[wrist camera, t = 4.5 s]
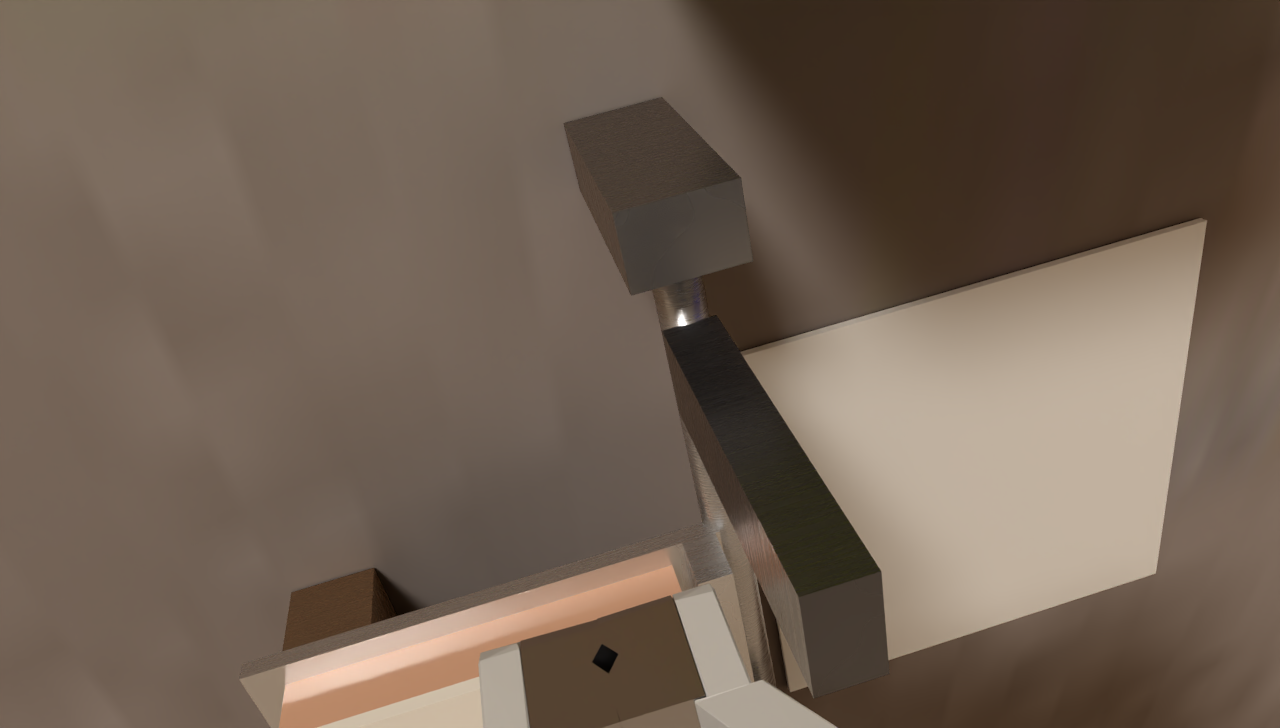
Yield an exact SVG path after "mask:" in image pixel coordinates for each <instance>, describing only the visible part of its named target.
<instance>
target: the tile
mask: <svg viewBox="0 0 1280 728" xmlns="http://www.w3.org/2000/svg"><path fill="white" fill-rule="evenodd" d="M679 592H682V591H681V588H680V585H679V582H678V579H677V577H676V574H675V571H674V568H673V566H672V565H671V566H668V567H665V568H661V569H658V570H655V571H652V572H648V573H645V574H642V575H639V576H636V577H632V578H629V579H626V580H623V581H619V582H616V583H613V584H610V585H606V586H603V587H600V588H597V589H594V590H590V591H587V592H584V593H581V594H577V595H574V596H571V597H568V598H564V599H561V600H558V601H555V602H552V603H548V604H545V605H542V606H539V607H535V608H532V609H529V610H526V611H522V612H519V613H516V614H513V615H510V616H506V617H503V618H500V619H497V620H493V621H490V622H487V623H484V624H481V625H477V626H474V627H471V628H468V629H464V630H461V631H458V632H455V633H451V634H448V635H445V636H442V637H439V638H435V639H432V640H429V641H426V642H422V643H419V644H416V645H413V646H409V647H406V648H403V649H400V650H397V651H393V652H390V653H387V654H384V655H380V656H377V657H374V658H371V659H367V660H364V661H361V662H358V663H355V664H351V665H348V666H345V667H342V668H338V669H335V670H332V671H329V672H325V673H322V674H319V675H316V676H313V677H309V678H306V679H303V680H300V681H296V682H293V683H290V684H287V685H285V690H284V697H283V704H282V711H281V717H280V724H279V728H483V720H482V707H481V693H480V680H479V667H478V664H479V658H480V653H482V652H485V651H489V650H492V649H496V648H499V647H503V646H507V645H510V644H514V643H517V642H520V641H522V640H525V639H529V638H532V637H536V636H540V635H543V634H547V633H550V632H554V631H557V630H561V629H565V628H568V627H572V626H575V625H579V624H582V623H586V622H590V621H593V620H597V618H600V617H603V616H607V615H610V614H613V613H616V612H619V611H622V610H625V609H629V608H632V607H635V606H638V605H641V604H644V603H647V602H651V601H654V600H657V599H660V598H663V597H666V596H669V595H671V597H672V595H673V594H676V593H679Z"/></svg>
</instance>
